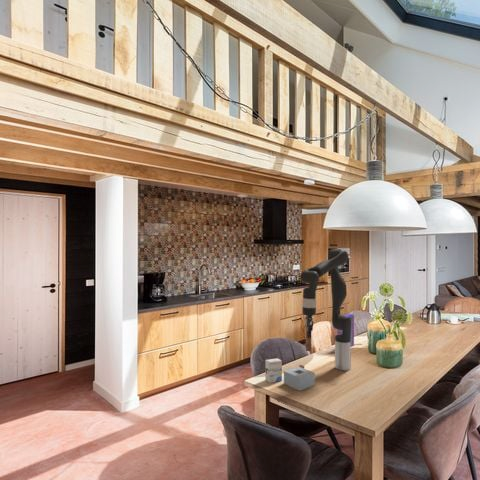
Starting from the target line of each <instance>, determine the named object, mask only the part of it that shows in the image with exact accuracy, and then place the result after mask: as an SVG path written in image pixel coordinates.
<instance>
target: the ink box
mask: <svg viewBox="0 0 480 480" xmlns="http://www.w3.org/2000/svg"><path fill="white" fill-rule="evenodd" d="M264 363H265V373H264V375H265V378H264V379H265V381H266V382H267V383H269V384H270V383H277V382H282V381H283V380H282V378H283V375H282V374H283V372H282V371H283V361H282V360H281V359H280V358H277V357H276V358H270V359H265V361H264Z"/></svg>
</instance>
